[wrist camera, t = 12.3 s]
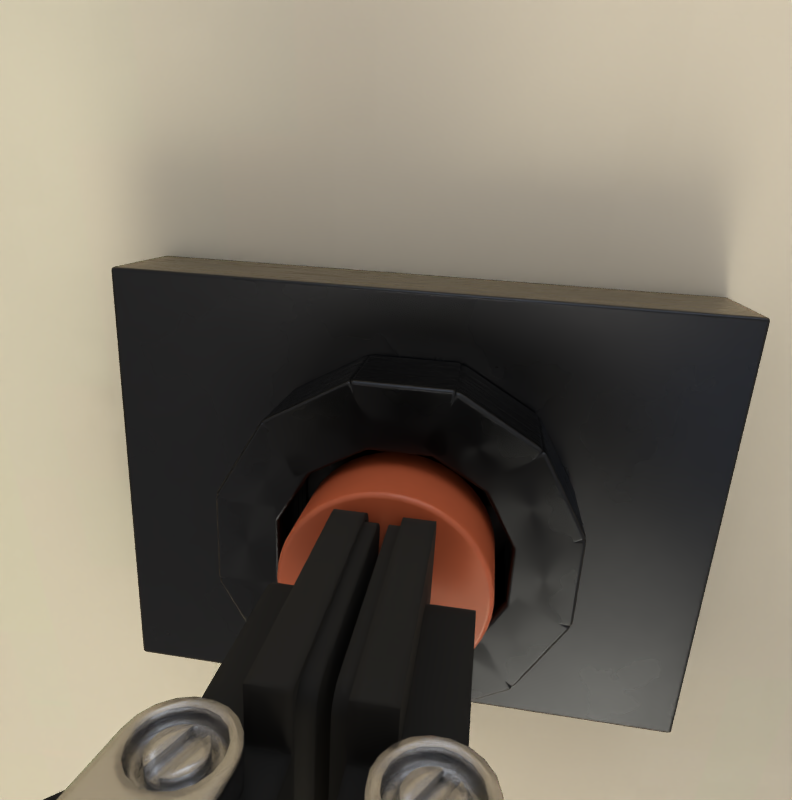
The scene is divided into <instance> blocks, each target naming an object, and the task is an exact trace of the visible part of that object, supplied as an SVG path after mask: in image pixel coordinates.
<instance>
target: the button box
mask: <svg viewBox="0 0 792 800" xmlns="http://www.w3.org/2000/svg"><path fill="white" fill-rule="evenodd" d="M112 281H113V292H114V304H115V316H116V328H117V339H118V351H119V363H120V374H121V386H122V398H123V410H124V421H125V433H126V445H127V456H128V468H129V480H130V491H131V503H132V515H133V527H134V538H135V550H136V562H137V573H138V585H139V597H140V609H141V620H142V632H143V644H144V650H145V651H146V652H153V653H159V654H166V655H172V656H179V657H185V658H191V659H198V660H204V661H211V662H217V663H222V662H223V660H224V659H225V657H226V655H227V654H228V652H229V650H230V648H231V647H232V645H233V643H234V642H235V640H236V638H237V637H238V635H239V633H240V631H241V630H242V628H243V626H244V625H245V623H246V621H247V619H248V618H249V616H250V614H251V613H252V611H253V609H254V607H255V606H256V604H257V602H258V601H259V599H260V597H261V596H262V594H263V592H264V590H265V589H266V588H267V586H268V585H269V584H270V583H273V582H275V583H278V579H277V572H278V562H279V558H280V553H281V550H282V548H283V545H284V542H285V540H286V538H287V537H288V535H289V533H290V532H291V530H292V528H293V527H294V525H295V523H296V522H297V520H298V518H299V517H300V515H301V513H302V512H303V510H304V508H305V507H306V505H307V503H308V502H309V500H310V498H311V497H312V495H313V493H314V492H315V490H316V488H317V487H318V486H319V485H320V484H321V482H322V481H323V480H324V479H325V478H326V477H327V476H328V475H329V474H330V473H331V472H333V471H334V470H335V469H337V468H338V467H340V466H341V465H343V464H345V463H347V462H349V461H351V460H353V459H356V458H359V457H362V456H365V455H370V454H375V453H384V452H396V453H405V454H414V455H418V456H421V457H425V458H428V459H431V460H433V461H435V462H437V463H440V464H442V465H443V466H445V467H447V468H448V469H450V470H452V471H453V472H455V473H456V474H457V475H459V476H460V477H461V478H462V479H464V480H465V481H466V482H467V483H468V484H469V485H470V486H471V487H472V488H473V490H474V491H475V492H476V494H477V495H478V496H479V497H480V499H481V501H482V502H483V504H484V506H485V507H486V509H487V512H488V514H489V517H490V519H491V522H492V526H493V530H494V538H495V591H494V608H493V613H492V618H491V620H490V623H489V626H488V628H487V630H486V632H485V634H484V636H483V638H482V639H481V641H480V642H479V643H478V645H477V646H476V647H475V648H474V657H473V675H472V693H471V702H475V703H481V704H487V705H494V706H500V707H507V708H513V709H520V710H526V711H532V712H539V713H545V714H552V715H558V716H565V717H571V718H578V719H584V720H590V721H597V722H603V723H610V724H616V725H623V726H629V727H635V728H642V729H648V730H655V731H661V732H671V729H672V724H673V720H674V716H675V712H676V708H677V704H678V700H679V696H680V691H681V687H682V683H683V679H684V675H685V671H686V667H687V662H688V658H689V654H690V650H691V646H692V642H693V638H694V633H695V629H696V625H697V621H698V617H699V613H700V609H701V604H702V600H703V596H704V592H705V588H706V584H707V580H708V575H709V571H710V567H711V563H712V559H713V555H714V551H715V546H716V542H717V538H718V534H719V530H720V526H721V522H722V517H723V513H724V509H725V505H726V501H727V497H728V493H729V488H730V484H731V480H732V476H733V472H734V468H735V464H736V459H737V455H738V451H739V447H740V443H741V439H742V435H743V431H744V426H745V422H746V418H747V414H748V410H749V406H750V402H751V397H752V393H753V389H754V385H755V381H756V377H757V373H758V368H759V364H760V360H761V356H762V352H763V348H764V344H765V339H766V335H767V331H768V327H769V323H770V320H769V318H767V317H765V316H763V315H761V314H759V313H757V312H755V311H753V310H751V309H749V308H747V307H745V306H743V305H741V304H738V303H736V302H734V301H732V300H730V299H728V298H724V297H711V296H698V295H684V294H671V293H657V292H644V291H631V290H617V289H604V288H590V287H577V286H564V285H550V284H537V283H523V282H510V281H497V280H483V279H470V278H457V277H443V276H430V275H416V274H403V273H390V272H376V271H363V270H349V269H336V268H323V267H309V266H296V265H282V264H269V263H256V262H242V261H229V260H215V259H202V258H189V257H175V256H163V257H159V258H154V259H149V260H144V261H139V262H135V263H130V264H125V265H120V266H115V267H113V268H112Z"/></svg>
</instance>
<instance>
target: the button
mask: <svg viewBox="0 0 792 800" xmlns="http://www.w3.org/2000/svg"><path fill="white" fill-rule="evenodd" d="M333 509H340V510H348V511H356V512H364V513H368V519H369V522H373V523H379V525H380V535H379V552H380V549H381V546H382V543H383V540H384V537H385V534H386V531H387V528H388V526H389V525H397V526H400V525H401V522H402V519H403V517H405V518H413V519H421V520H429V521H437V526H436V540H435V552H434V564H433V576H432V588H431V600H430V604H433V605H441V606H448V607H455V608H462V609H469V610H476V622H475V640H474V648H475V647H476V646H477V645H478V643H479V642H480V641H481V639H482V638H483V636H484V634H485V632H486V630H487V628H488V626H489V623H490V620H491V618H492V613H493V608H494V591H495V538H494V530H493V526H492V522H491V519H490V517H489V514H488V512H487V509H486V507H485V506H484V504H483V502H482V501H481V499H480V497H479V496H478V495H477V494H476V492H475V491H474V490H473V488H472V487H471V486H470V485H469V484H468V483H467V482H466V481H465V480H464V479H462V478H461V477H460V476H459V475H457V474H456V473H455V472H453V471H452V470H450V469H448V468H447V467H445V466H443V465H442V464H440V463H437V462H435V461H433V460H431V459H428V458H425V457H421V456H418V455H414V454H405V453H396V452H384V453H375V454H370V455H365V456H362V457H359V458H356V459H353V460H351V461H349V462H347V463H345V464H343V465H341V466H340V467H338V468H337V469H335V470H334V471H333V472H331V473H330V474H329V475H328V476H327V477H326V478H325V479H324V480H323V481H322V482H321V484H320V485H319V486H318V487H317V488H316V490H315V492H314V493H313V495H312V497H311V498H310V500H309V502H308V503H307V505H306V507H305V508H304V510H303V512H302V513H301V515H300V517H299V518H298V520H297V522H296V523H295V525H294V527H293V528H292V530H291V532H290V533H289V535H288V537H287V538H286V540H285V542H284V545H283V548H282V550H281V553H280V558H279V562H278V572H277V579H278V583H282V584H290V585H294V584H295V582H296V580H297V578H298V576H299V574H300V572H301V570H302V568H303V566H304V564H305V563H306V561H307V559H308V557H309V555H310V553H311V551H312V549H313V547H314V545H315V543H316V541H317V539H318V537H319V536H320V534H321V532H322V530H323V528H324V526H325V524H326V522H327V520H328V518H329V516H330V514H331V512H332V511H333ZM378 555H379V554H378Z"/></svg>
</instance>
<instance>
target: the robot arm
mask: <svg viewBox="0 0 792 800" xmlns="http://www.w3.org/2000/svg"><path fill="white" fill-rule="evenodd" d="M436 526H437V521H429V520H421V519H413V518H405V517H403V519H402V522H401V525H400V526H397V525H389V526H388V528H387V531H386V534H385V537H384V540H383V543H382V546H381V549H380V552H379V535H380V525H379V523H373V522H369V519H368V513H364V512H356V511H348V510H340V509H333V511H332V512H331V514H330V516H329V518H328V520H327V522H326V524H325V526H324V528H323V530H322V532H321V534H320V536H319V537H318V539H317V541H316V543H315V545H314V547H313V549H312V551H311V553H310V555H309V557H308V559H307V561H306V563H305V564H304V566H303V568H302V570H301V572H300V574H299V576H298V578H297V580H296V582H295V584H294V585H290V584H282V583H275V582H273V583H270V584H269V585H268V586H267V588H266V589H265V590H264V592H263V594H262V596H261V597H260V599H259V601H258V602H257V604H256V606H255V607H254V609H253V611H252V613H251V614H250V616H249V618H248V619H247V621H246V623H245V625H244V626H243V628H242V630H241V631H240V633H239V635H238V637H237V638H236V640H235V642H234V643H233V645H232V647H231V648H230V650H229V652H228V654H227V655H226V657H225V659H224V660H223V662H222V664H221V666H220V667H219V669H218V671H217V672H216V674H215V676H214V678H213V679H212V681H211V683H210V684H209V686H208V688H207V690H206V691H205V693H204V695H203V696H202V698H201V697H185V698H175V699H171V700H168V701H165V702H162V703H158V704H155V705H153V706H152V707H150V708H148V709H146V710H144V711H142V712H141V713H139V714H137V715H136V716H135V717H134V718H132V719H131V720H130V721H129V722H128V723H127V724H126V725H124V726H123V727H122V728H121V729H120V730H119V731H118V732H117V734H116V735H115V736H114V737H113V738H112V739H111V740H110V741H109V742H108V743H107V745H106V746H105V747H104V748H103V749H102V750H101V751H100V752H99V753H98V754H97V756H96V757H95V758H94V759H93V760H92V761H91V762H90V763H89V764H88V765H87V767H86V768H85V769H84V770H83V771H82V772H81V773H80V774H79V775H78V776H77V778H76V779H75V780H74V781H73V782H72V783H71V784H70V785H69V786H68V787H67V789H66V790H64V791H62V792H59V793H57V794H55V795H53V796H50V797H48V798H46V799H44V800H504V797H503V793H502V790H501V787H500V784H499V781H498V778H497V775H496V774H495V773H494V771H493V770H492V769H491V767H490V766H489V765H488V763H487V762H486V760H485V759H484V758H482V757H481V756H480V755H479V754H477V753H476V752H475V751H474V750H472V749H471V748H470V747H469V729H470V711H471V693H472V675H473V657H474V640H475V622H476V610H469V609H462V608H455V607H448V606H441V605H433V604H430V600H431V588H432V576H433V564H434V552H435V540H436ZM378 554H379V555H378Z"/></svg>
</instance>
